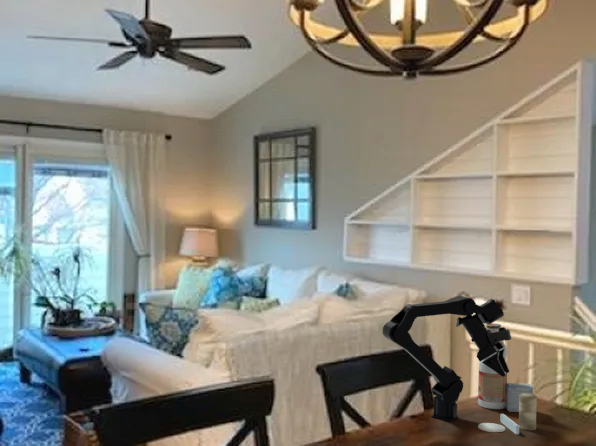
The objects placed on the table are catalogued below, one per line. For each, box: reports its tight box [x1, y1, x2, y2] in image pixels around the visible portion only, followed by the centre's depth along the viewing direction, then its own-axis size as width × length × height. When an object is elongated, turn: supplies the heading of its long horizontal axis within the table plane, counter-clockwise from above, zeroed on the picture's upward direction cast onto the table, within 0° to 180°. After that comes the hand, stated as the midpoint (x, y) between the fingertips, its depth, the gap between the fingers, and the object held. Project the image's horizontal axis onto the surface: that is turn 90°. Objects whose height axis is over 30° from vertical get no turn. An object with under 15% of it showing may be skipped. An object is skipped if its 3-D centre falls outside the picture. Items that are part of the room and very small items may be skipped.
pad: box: [477, 422, 506, 433], centre depth 205 cm, size 8×8×1 cm
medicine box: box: [505, 382, 534, 413], centre depth 223 cm, size 8×4×9 cm, turn 84°
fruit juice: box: [477, 322, 508, 410], centre depth 228 cm, size 9×9×28 cm
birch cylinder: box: [518, 393, 538, 431], centre depth 205 cm, size 5×5×10 cm
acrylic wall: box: [499, 413, 520, 435], centre depth 205 cm, size 12×1×2 cm, turn 5°
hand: (506, 374), depth 211 cm, fingers open, 9 cm apart
